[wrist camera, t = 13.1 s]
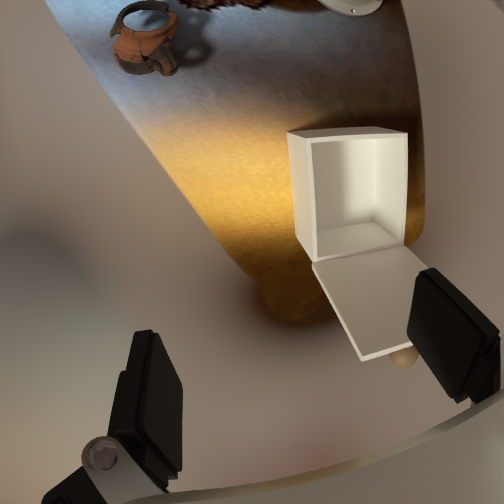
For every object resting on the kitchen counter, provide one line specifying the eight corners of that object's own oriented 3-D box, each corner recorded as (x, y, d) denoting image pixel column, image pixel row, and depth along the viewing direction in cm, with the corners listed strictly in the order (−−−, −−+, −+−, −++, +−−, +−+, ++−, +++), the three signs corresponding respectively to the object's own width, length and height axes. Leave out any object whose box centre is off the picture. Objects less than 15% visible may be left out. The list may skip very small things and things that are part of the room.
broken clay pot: (100, 56, 33) (94, 17, 25) (153, 25, 36) (157, -14, 28) (150, 105, 35) (151, 68, 27) (204, 69, 38) (217, 32, 30)
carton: (286, 132, 41) (305, 138, 33) (374, 126, 42) (407, 133, 34) (295, 235, 49) (313, 262, 41) (375, 222, 50) (403, 245, 42)
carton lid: (362, 356, 26) (353, 396, 30) (473, 316, 27) (455, 358, 31) (311, 263, 41) (312, 304, 44) (404, 245, 42) (398, 284, 45)
